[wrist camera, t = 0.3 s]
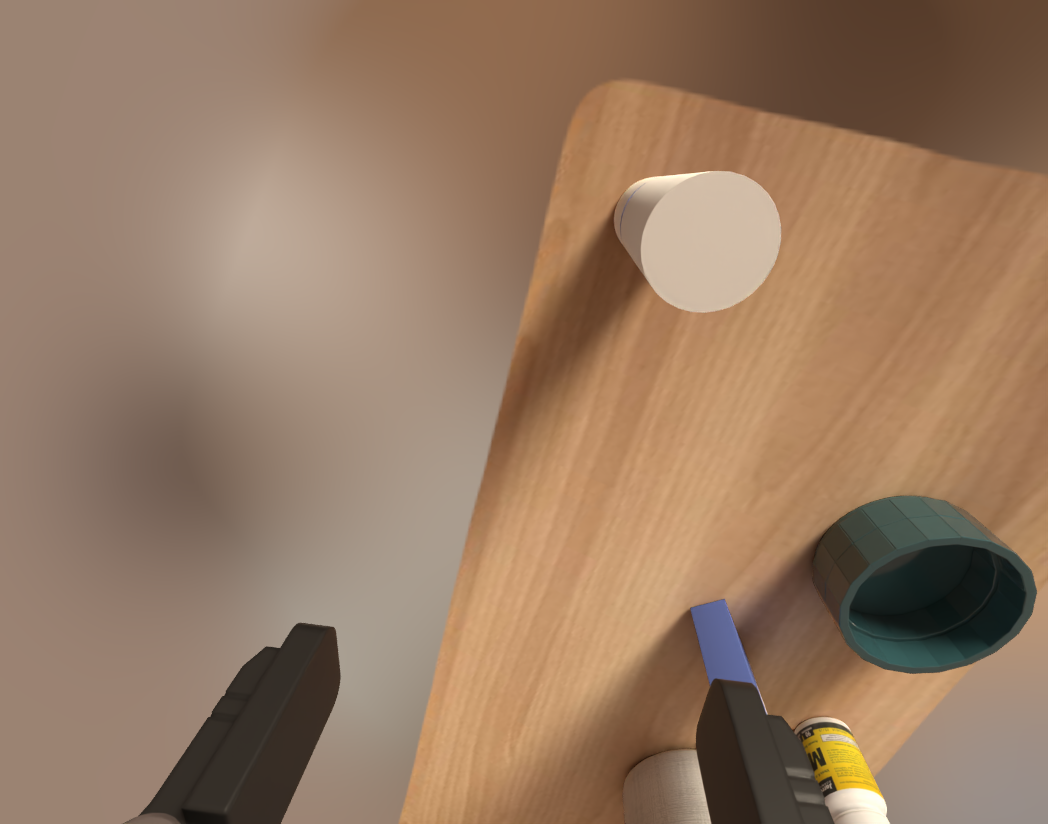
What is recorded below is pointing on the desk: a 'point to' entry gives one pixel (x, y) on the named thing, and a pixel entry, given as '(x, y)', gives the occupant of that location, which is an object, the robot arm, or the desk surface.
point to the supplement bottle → (842, 772)
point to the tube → (700, 237)
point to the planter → (666, 790)
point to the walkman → (721, 644)
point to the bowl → (921, 585)
